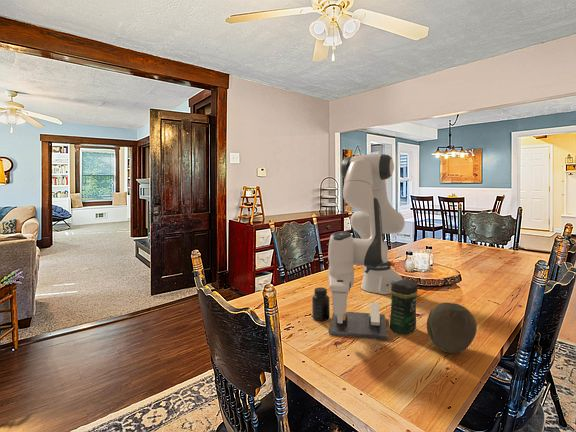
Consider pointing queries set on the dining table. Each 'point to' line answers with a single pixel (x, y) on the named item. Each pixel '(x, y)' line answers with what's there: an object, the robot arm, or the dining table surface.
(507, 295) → the dining table surface
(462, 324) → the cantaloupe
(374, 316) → the paddle
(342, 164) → the robot arm
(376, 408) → the dining table surface
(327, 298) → the supplement bottle
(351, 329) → the panel
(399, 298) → the coffee jar
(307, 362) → the dining table surface
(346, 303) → the paddle
